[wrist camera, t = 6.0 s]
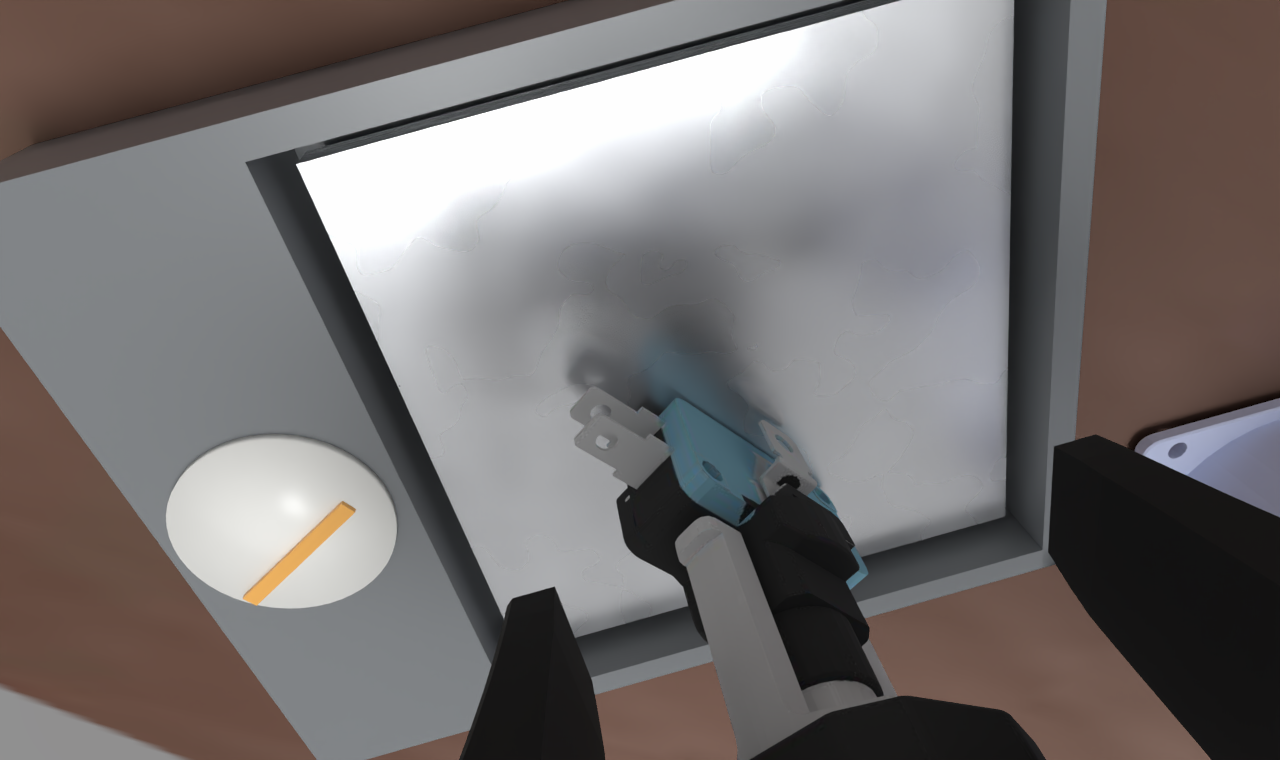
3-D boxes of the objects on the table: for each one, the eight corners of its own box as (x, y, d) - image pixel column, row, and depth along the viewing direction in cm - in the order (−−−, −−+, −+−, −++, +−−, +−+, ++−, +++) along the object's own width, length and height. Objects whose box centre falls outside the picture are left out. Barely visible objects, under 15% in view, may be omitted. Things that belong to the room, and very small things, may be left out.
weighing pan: (988, -34, 14) (1014, -31, 13) (987, 495, 20) (1005, 516, 19) (306, 151, 14) (296, 164, 13) (518, 627, 20) (519, 653, 19)
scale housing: (990, -114, 15) (1129, -119, 12) (988, 472, 22) (1073, 570, 19) (31, 145, 15) (-101, 213, 11) (348, 652, 22) (322, 783, 19)
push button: (499, 472, 16) (509, 1094, 8) (670, 278, 15) (909, 802, 6) (730, 596, 19) (916, 1145, 11) (895, 444, 18) (1262, 955, 9)
